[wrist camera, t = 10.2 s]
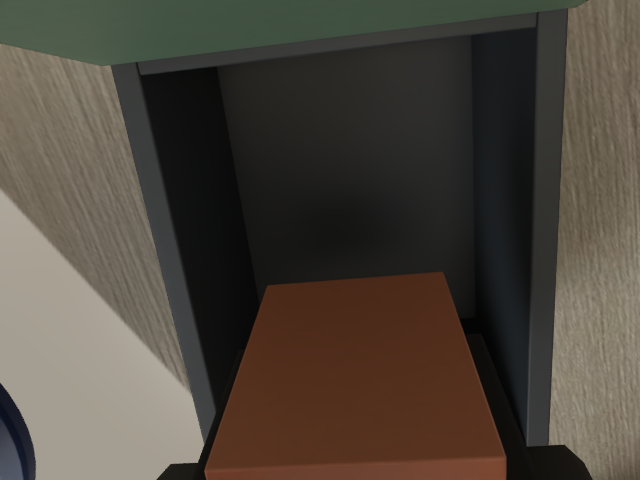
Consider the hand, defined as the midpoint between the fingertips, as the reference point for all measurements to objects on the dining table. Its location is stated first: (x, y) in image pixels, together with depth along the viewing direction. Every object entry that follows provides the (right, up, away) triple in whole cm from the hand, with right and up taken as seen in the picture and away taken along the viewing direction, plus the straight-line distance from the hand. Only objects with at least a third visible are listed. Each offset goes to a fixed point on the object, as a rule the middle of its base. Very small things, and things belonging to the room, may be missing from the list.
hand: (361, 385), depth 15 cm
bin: (+1, +6, +12) cm, 13 cm away
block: (0, +1, +1) cm, 2 cm away
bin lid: (-2, +8, -9) cm, 12 cm away
